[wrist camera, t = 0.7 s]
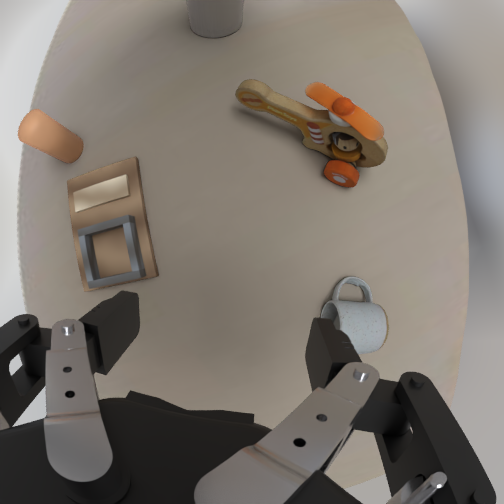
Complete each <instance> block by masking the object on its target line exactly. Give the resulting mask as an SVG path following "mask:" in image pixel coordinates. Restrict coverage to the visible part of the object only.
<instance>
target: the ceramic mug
mask: <svg viewBox="0 0 504 504" xmlns="http://www.w3.org/2000/svg"><path fill="white" fill-rule="evenodd" d="M344 283H350V284H355V285H356V286H360V287H361V288H362V289H363V291H364V294H365V298H366V302H353V301H340V300H339V299H338V295H339V291H340V288H341V286H342V285H343V284H344ZM320 318H327V319H331V320H332V322H333V324H334V326H335V328H336V330H342V331H343V332H344V333H345V334H347V335H348V336H349V338H350V340H351V343H352V344H353V346H354V349H355V350H356V352H357V353H358V354H364V353H371V352H374V351H377V350H378V349H380V348H381V347H382V346H383V345H384V343H385V341H386V339H387V336H388V330H389V323H388V317H387V315H386V312H385V310H384V309H383V308H382V307H381V306H380V305H377V304H374V303H372V293H371V290H370V288H369V286H368V285H367V283H366V282H365V281H363V280H362V279H360V278H357V277H346V278H344V279H343V280H341V281H340V282H339V283H338V284H337V285H336V287H335V289H334V292H333V297H332V300H330V301H328V302H327V303H326V304H325V305H324V308H323V310H322V313H321V317H320Z"/></svg>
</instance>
